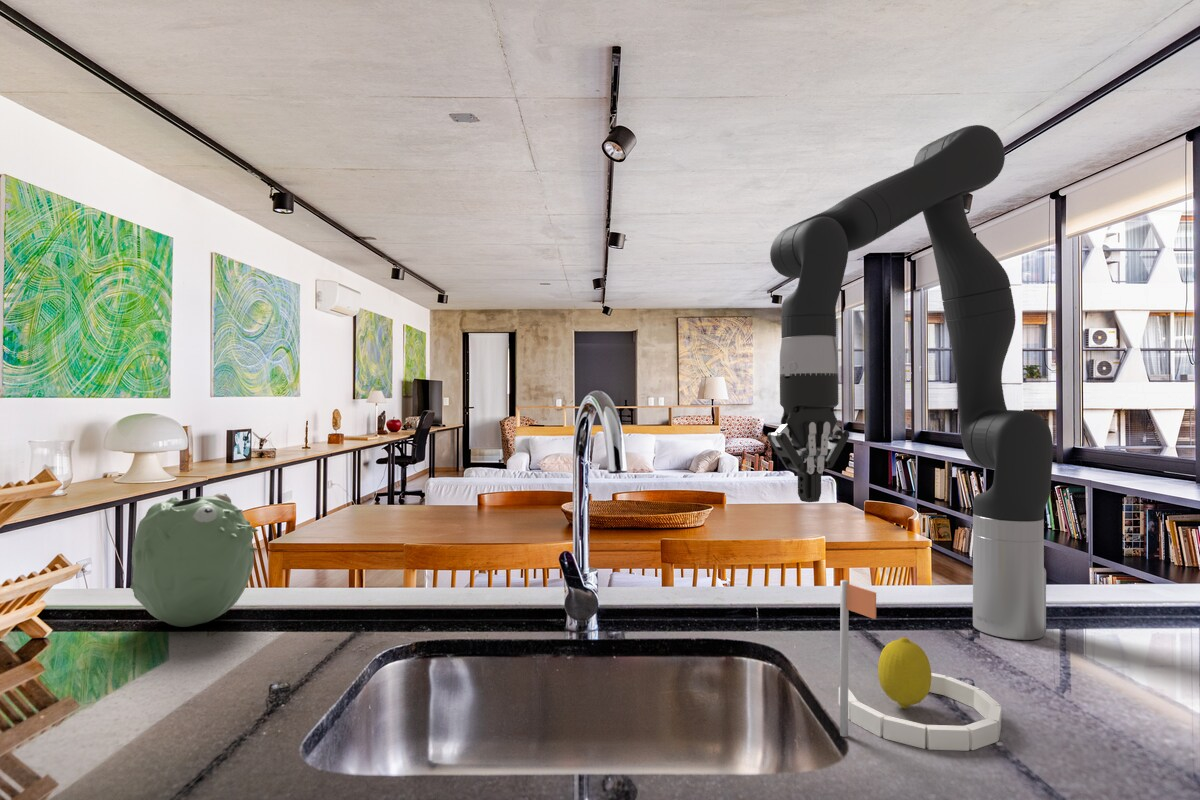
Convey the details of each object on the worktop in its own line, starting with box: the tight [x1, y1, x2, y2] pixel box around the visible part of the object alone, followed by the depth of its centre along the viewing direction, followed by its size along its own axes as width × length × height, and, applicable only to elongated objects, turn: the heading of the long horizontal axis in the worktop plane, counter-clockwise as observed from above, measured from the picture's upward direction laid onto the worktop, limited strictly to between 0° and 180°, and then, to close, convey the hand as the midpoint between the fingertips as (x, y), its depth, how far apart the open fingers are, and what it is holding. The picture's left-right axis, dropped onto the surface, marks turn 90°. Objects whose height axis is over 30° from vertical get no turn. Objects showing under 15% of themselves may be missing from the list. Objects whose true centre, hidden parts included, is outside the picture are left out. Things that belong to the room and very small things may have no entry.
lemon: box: [877, 636, 932, 709], centre depth 78 cm, size 6×6×8 cm
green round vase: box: [129, 493, 259, 628], centre depth 107 cm, size 16×19×20 cm
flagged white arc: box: [838, 579, 1002, 752], centre depth 75 cm, size 19×14×16 cm
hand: (809, 501), depth 93 cm, fingers closed
